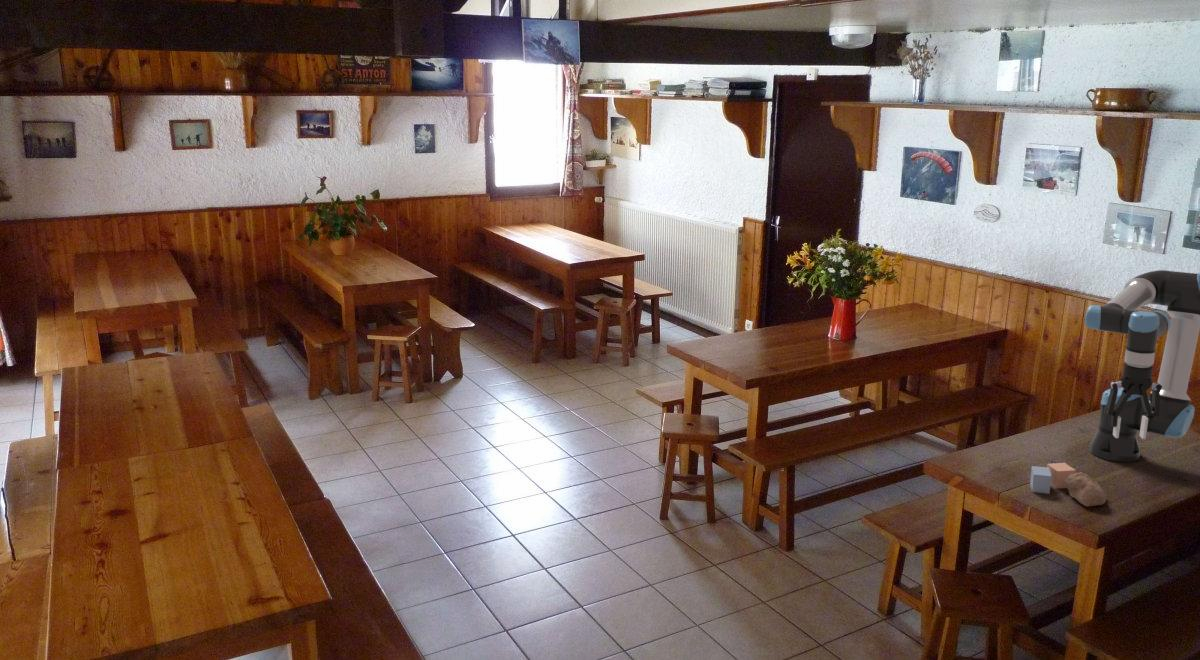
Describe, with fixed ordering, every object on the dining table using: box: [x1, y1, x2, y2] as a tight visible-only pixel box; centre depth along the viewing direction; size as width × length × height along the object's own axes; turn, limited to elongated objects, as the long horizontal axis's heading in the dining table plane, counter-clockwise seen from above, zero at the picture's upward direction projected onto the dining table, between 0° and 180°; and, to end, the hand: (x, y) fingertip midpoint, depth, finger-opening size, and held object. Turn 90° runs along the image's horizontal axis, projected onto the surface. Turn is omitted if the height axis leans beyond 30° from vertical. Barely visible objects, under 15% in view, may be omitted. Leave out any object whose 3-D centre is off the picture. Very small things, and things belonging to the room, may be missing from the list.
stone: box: [1065, 471, 1107, 508], centre depth 285 cm, size 12×9×10 cm
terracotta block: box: [1046, 462, 1077, 489], centre depth 297 cm, size 6×6×6 cm
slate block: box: [1029, 465, 1051, 495], centre depth 294 cm, size 5×7×6 cm
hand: (1129, 436), depth 280 cm, fingers open, 7 cm apart
